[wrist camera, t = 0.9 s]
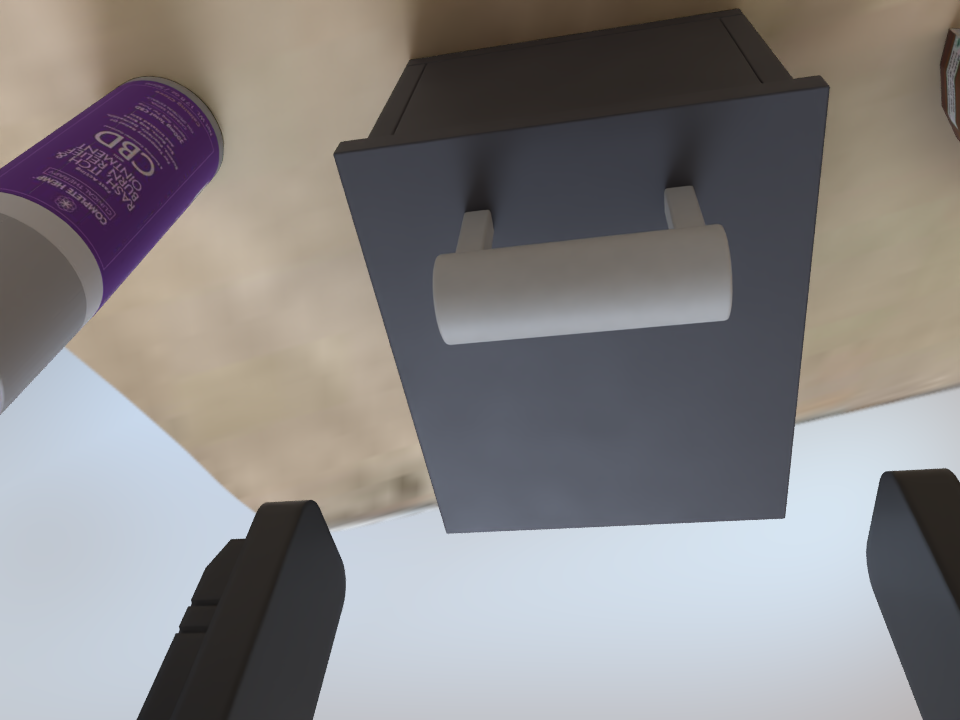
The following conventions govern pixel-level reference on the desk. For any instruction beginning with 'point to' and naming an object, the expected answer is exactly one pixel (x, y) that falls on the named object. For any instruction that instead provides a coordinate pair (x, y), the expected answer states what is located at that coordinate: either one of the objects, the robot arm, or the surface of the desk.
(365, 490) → the desk surface
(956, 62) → the food container
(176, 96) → the container
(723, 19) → the dark grey open box
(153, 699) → the robot arm
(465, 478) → the lid
